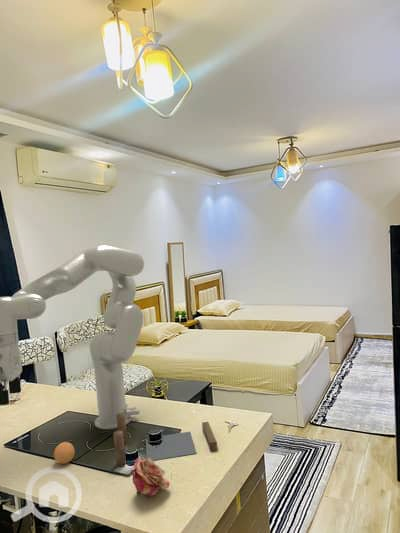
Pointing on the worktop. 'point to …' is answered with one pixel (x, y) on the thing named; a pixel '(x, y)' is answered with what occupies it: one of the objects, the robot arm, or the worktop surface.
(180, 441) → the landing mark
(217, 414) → the worktop surface
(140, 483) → the flower
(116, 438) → the near post
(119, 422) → the far post
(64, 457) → the ball
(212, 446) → the brown wooden bar
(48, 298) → the robot arm
